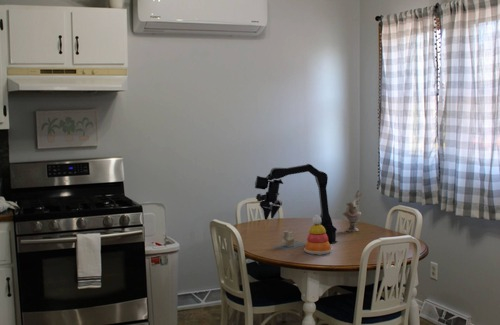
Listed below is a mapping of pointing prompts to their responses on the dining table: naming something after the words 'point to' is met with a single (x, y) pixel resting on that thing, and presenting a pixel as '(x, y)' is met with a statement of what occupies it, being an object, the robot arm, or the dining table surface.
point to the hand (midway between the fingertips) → (268, 218)
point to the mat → (296, 244)
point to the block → (288, 239)
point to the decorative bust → (352, 213)
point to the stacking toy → (317, 238)
